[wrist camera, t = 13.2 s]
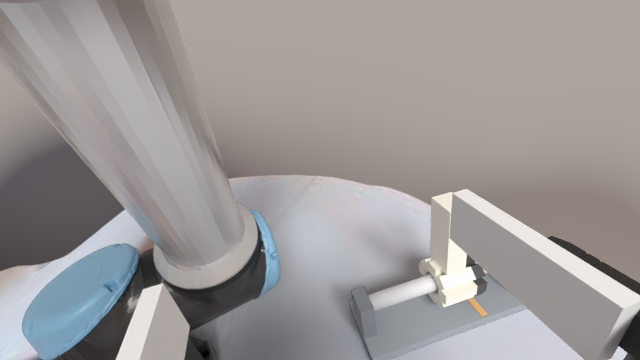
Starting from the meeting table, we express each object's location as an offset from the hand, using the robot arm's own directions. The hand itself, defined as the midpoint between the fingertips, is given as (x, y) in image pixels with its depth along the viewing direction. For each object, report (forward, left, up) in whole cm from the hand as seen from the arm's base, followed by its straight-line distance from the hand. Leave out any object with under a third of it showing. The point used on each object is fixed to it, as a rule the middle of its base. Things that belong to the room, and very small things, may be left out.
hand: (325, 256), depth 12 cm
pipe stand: (+6, +24, -33) cm, 41 cm away
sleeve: (+7, +25, -31) cm, 40 cm away
